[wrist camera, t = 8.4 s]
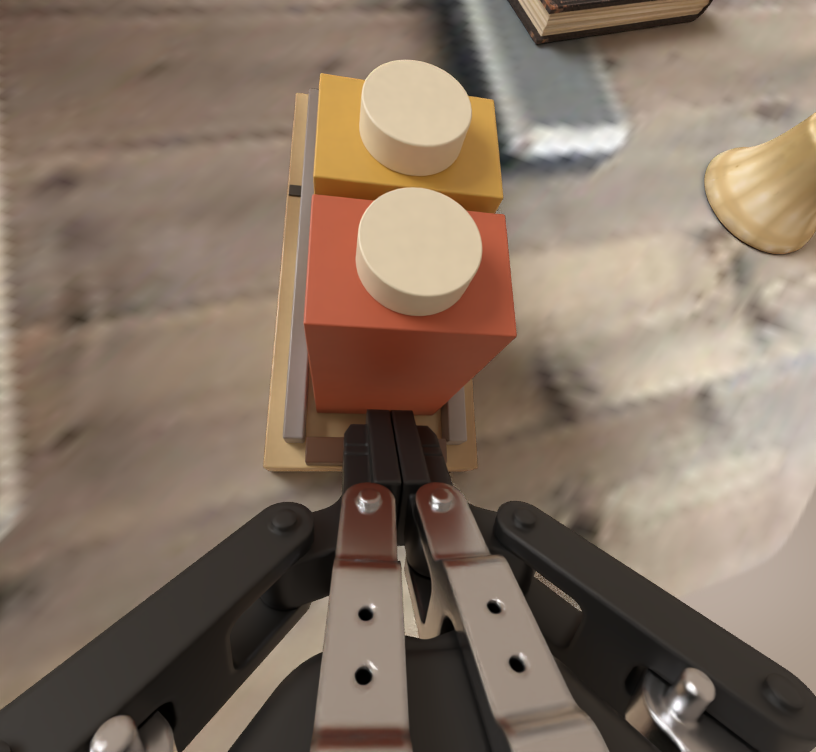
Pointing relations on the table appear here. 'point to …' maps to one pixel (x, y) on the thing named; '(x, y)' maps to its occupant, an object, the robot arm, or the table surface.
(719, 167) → the hand bell
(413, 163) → the yellow toy brick
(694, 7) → the hardcover book
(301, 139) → the score rail
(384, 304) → the block
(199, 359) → the table surface
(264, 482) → the table surface
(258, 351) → the table surface
